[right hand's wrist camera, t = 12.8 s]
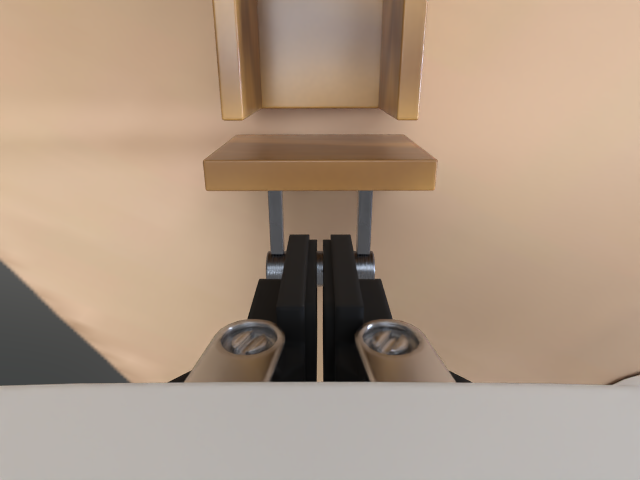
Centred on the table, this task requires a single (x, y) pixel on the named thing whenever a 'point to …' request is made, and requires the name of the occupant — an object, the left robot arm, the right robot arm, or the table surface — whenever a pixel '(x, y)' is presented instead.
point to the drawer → (320, 104)
